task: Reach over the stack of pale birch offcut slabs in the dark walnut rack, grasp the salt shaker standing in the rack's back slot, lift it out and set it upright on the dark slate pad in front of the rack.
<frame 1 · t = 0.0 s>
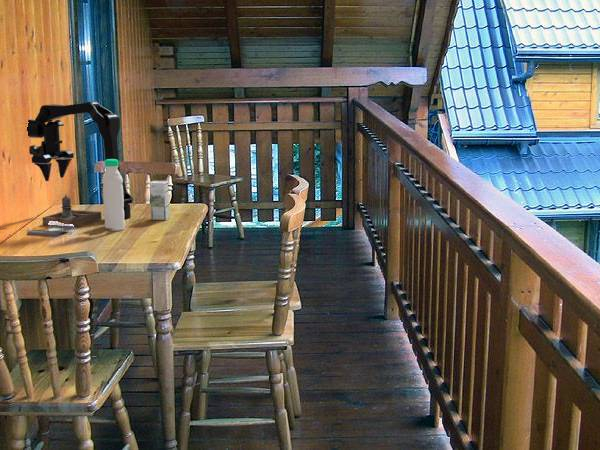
hand: (54, 179, 317), 15 cm above the table, tool pointing down, fingers open, 9 cm apart
white bottle: (115, 230, 295), on the table
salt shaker: (68, 227, 301), on the table
syrup box: (160, 219, 314), on the table
slate pad: (49, 233, 290), on the table
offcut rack: (72, 225, 303), on the table
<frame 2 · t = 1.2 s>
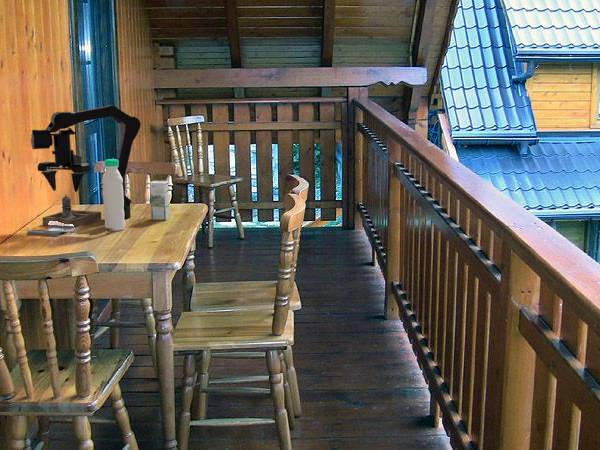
hand: (65, 191, 299), 13 cm above the table, tool pointing down, fingers open, 9 cm apart
nothing on the table moved.
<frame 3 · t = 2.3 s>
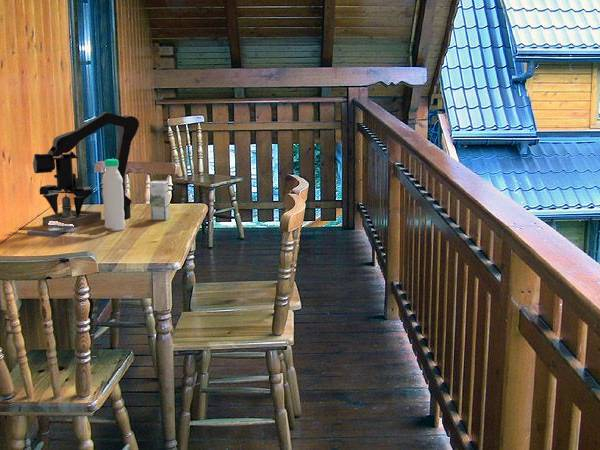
hand: (67, 214, 300), 5 cm above the table, tool pointing down, fingers open, 9 cm apart
nothing on the table moved.
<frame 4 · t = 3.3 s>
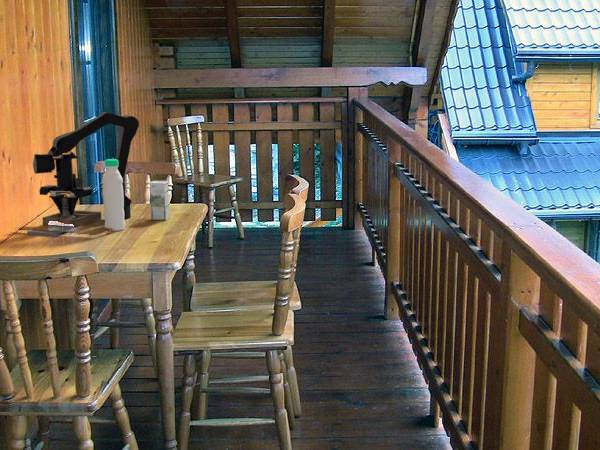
hand: (67, 214, 300), 5 cm above the table, tool pointing down, fingers closed on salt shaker, 3 cm apart
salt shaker: (68, 227, 301), on the table, touching gripper
everything else where it was.
when the fingers open (7 cm above the table, at t = 7.4 s): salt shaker drops 1 cm, resting on slate pad.
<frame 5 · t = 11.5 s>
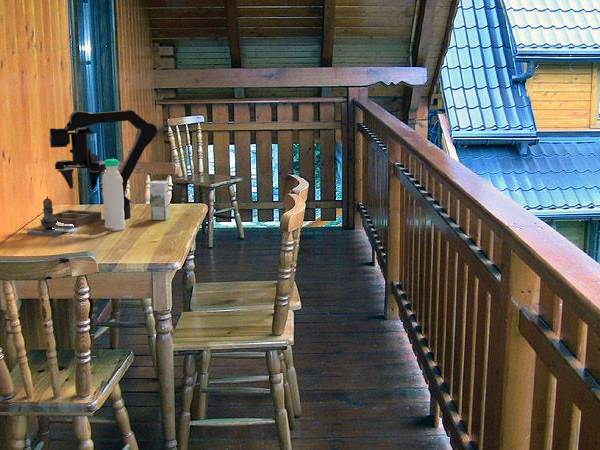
hand: (82, 189, 303), 13 cm above the table, tool pointing down, fingers open, 9 cm apart
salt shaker: (49, 230, 290), point 1 cm above the table, touching slate pad
everything else where it was.
at the end: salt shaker inside the target area on the slate pad (0.1 cm from its centre), point 0.8 cm above the slate pad's base; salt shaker tilted 0°; the gripper is holding nothing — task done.
